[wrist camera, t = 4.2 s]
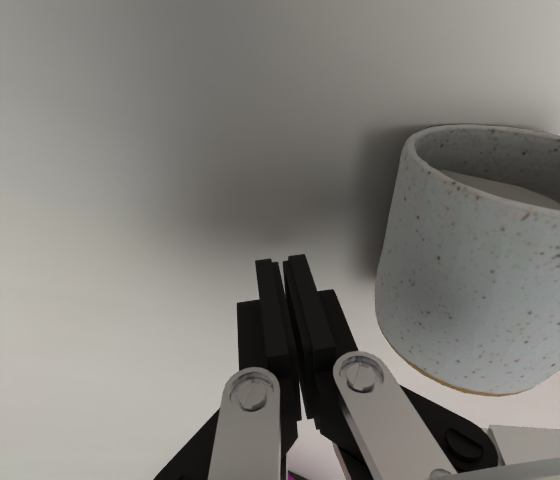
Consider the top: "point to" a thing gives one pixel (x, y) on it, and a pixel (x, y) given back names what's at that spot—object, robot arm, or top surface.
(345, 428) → the robot arm
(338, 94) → the top surface
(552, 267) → the ceramic mug
